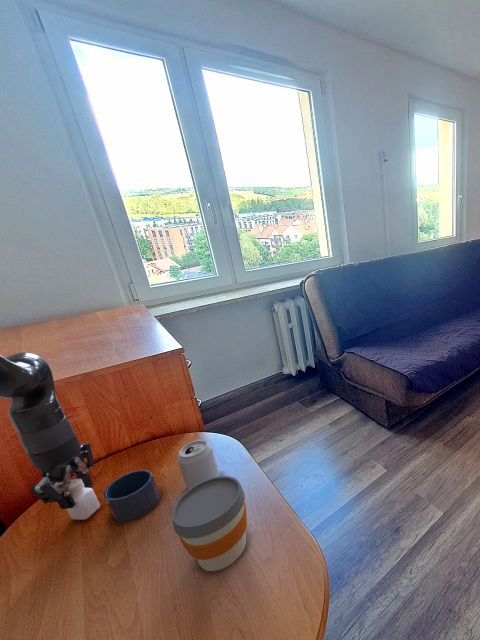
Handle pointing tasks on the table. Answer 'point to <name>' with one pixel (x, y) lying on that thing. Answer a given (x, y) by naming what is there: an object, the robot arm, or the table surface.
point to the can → (197, 462)
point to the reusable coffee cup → (212, 522)
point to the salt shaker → (82, 500)
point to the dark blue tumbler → (132, 495)
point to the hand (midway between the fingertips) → (78, 496)
